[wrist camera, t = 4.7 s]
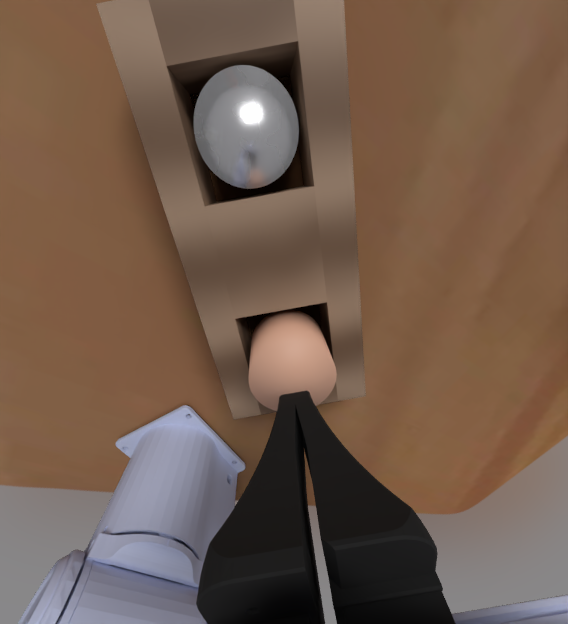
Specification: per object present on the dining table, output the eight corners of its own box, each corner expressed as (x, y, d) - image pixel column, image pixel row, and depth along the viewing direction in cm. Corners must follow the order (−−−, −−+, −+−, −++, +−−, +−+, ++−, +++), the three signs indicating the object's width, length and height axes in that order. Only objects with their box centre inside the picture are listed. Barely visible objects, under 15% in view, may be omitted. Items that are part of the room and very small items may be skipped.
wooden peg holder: (350, 363, 24) (365, 396, 20) (238, 383, 24) (233, 419, 20) (321, 14, 14) (341, -44, 11) (138, 49, 14) (96, 3, 11)
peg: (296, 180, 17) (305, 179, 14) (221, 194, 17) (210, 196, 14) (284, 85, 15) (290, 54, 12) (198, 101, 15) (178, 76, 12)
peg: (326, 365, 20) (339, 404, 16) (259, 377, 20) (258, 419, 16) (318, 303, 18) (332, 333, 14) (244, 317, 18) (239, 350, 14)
